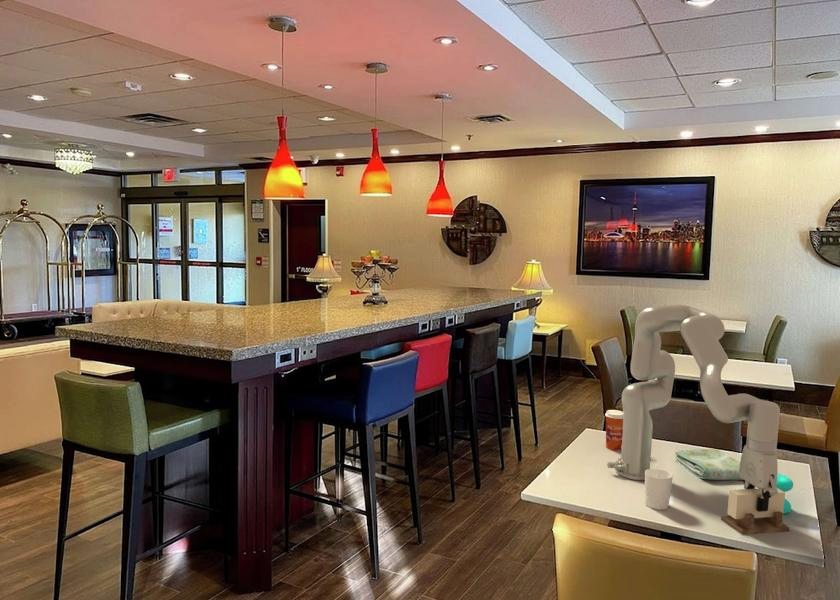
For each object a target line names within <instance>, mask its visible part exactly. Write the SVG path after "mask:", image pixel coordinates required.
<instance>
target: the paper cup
mask: <svg viewBox="0 0 840 600" xmlns="http://www.w3.org/2000/svg"><path fill="white" fill-rule="evenodd" d="M622 436H623V410H618V409H608V410H606V413H605V448H606V449H607V450H611V451H622Z"/></svg>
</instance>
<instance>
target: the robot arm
mask: <svg viewBox="0 0 840 600" xmlns="http://www.w3.org/2000/svg"><path fill="white" fill-rule="evenodd" d="M725 330H726V329H725V325H724V322H723V321H722V320H721V319H720V317H718V316H717V315H715V314H712V313H710V312H707V311H705V310H701V309H698V308H695V307H692V306H689V305H687V304H672V305H671V304H670V305H666V304H665V305H657V306H650V307H647V308H644V309H643V310H642V311H640V312H639V314H637V316H636V319H635V325H634V341H633V347H632V352H631V360H630V373H631V376H632V377H633V378H634V379H636V380H639V381H640V382H634V383H631V384H629V385H627V386H626V387H625V388H624V389H623V391H622V393H621V404H622V412H623V436H622V447H621V456H620V457H619V458H618V459H617V460H616V461H615V462H614V461H613V462H612V461H608V462H607V464H606V466H607V468H608V469H614V470H615V472H616V474H617V475H619V476H621V477H623V478H625V479H628V480H629V479H630V480H633V481H645V470H647V469H651V457H652V456H651V455H652V444H653V443H652V442H653V426H654V425H653V419H652V417H651V414H650V411H651V410H656V409H660V408H664V407H666V406H667V405H668V404H669V402H670V401H671V398H672V392H673V386H674V380H675V374H676V362H675V360H674V357H673V356H672V355H671V354H670V352H668V351H666V350H663V349H662V350H661V348H662V339H661V335H660V333H663V332H665V333H666V332H667V333H668V332H677V331H678V332H680V334H681V337H682V339H683V340H684V341H685V344H686V346H687V348H688V349H689V351H690V353H691V355H692V356H693V358H694V360H695V362H696V364H697V366H698V368H699V370H700V372H699V374H700V375H699V387H700V393H701V396H702V398H703V400H704V402H705V404H706V406H707V407H708V409H709V411H710V413H711V414H712V416H713V417H714V418H715V419H716V421H719V422H721V423H723V424H730V423H731V424H732V423H736V422H737V423H738V422H740V421H747V430H746V432H747V433H746V444H744V446H743V449H742V453H741V458H740V461H739V462H740V469H739V475H740V477H741V478H742V479H743V480H742V482H743V484H744V485H743V488H744V489H759V497H758V498H757V509H756V510H757V511H758V512H762V511H768V504H769V498H771V496H773V495H775V494H778V491H777V488H776V484H777V474H779V472H778V470H779V469H778V466H779V465H778V454H777V446H778V435H779V426H780V414H781V413H780V412H781V408H780V406H779V405H778V404H777V403H776V402H773V401H769V400H763V399H760V398H758V397H756V396H753V395H751V394H748V393H737V394H730V395H729V394H728V393H727V391H726V389H725V387H724V385H723V382H722V374H721V373H722V371H723V369H724V367H725V365H727V363H728V360H729V357H728V355H727V353H726V352H725V349H724V347H722V345H721V343H720V339H722V337H723V336H724V335H725ZM763 489H766V492H764V490H763Z"/></svg>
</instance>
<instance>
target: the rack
mask: <svg viewBox="0 0 840 600" xmlns="http://www.w3.org/2000/svg"><path fill="white" fill-rule="evenodd" d="M783 517H784V514H783V513H782V512H780V511H779V512H774V514H773V517H763V518H754V515H753V514H752V513H748V514H745V519H734V518H733V517H732V516H730V515H729V514H727V515H722V516H720V521H722V522H724V523H725V524H726V525H728V526H729V527H730V528H732V529H733V530H735V531H736V532H738V533H739V534H740V535H751V534H765V533H779V532H780V533H781V532H790V530H791V528H790V526H788V525H786V524H785V523H784V521H783V520H784V519H783Z"/></svg>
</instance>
